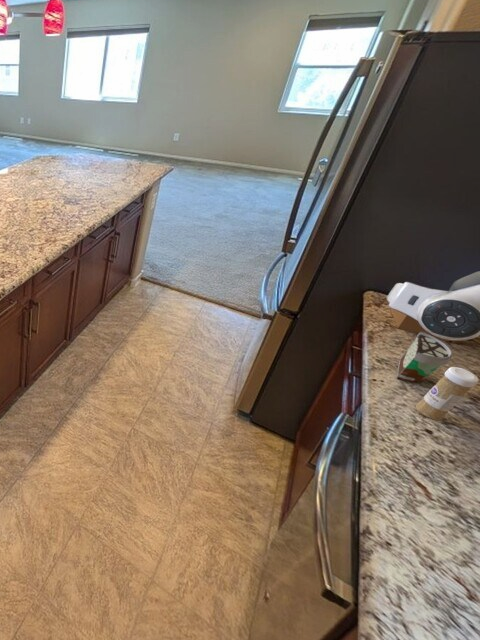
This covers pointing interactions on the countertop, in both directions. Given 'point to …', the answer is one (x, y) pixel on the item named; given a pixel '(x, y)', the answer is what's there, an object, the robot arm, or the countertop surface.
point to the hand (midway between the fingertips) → (454, 310)
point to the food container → (422, 358)
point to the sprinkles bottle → (446, 393)
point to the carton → (409, 323)
